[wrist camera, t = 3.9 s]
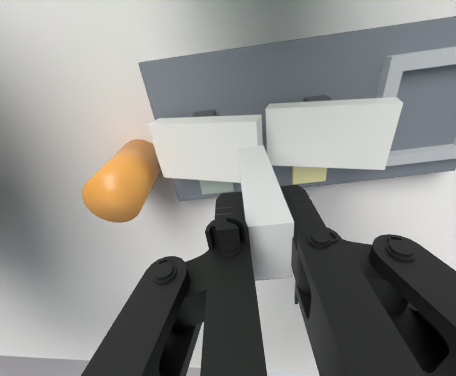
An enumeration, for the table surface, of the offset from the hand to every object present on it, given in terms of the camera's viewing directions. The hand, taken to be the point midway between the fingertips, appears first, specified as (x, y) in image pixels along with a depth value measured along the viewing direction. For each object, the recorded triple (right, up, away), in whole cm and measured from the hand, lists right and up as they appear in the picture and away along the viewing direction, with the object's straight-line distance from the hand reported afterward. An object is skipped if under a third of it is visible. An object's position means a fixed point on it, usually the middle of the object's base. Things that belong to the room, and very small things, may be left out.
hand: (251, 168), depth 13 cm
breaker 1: (-3, +2, +3) cm, 5 cm away
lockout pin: (-10, +2, +9) cm, 13 cm away
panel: (+6, +5, +7) cm, 10 cm away
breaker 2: (+5, +3, +3) cm, 7 cm away
